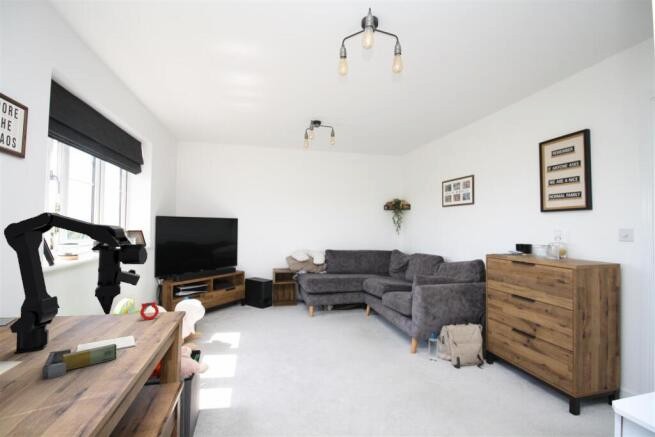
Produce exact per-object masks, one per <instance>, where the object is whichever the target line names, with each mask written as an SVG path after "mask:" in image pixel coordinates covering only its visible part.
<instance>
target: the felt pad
mask: <svg viewBox="0 0 655 437" xmlns="http://www.w3.org/2000/svg"><path fill="white" fill-rule="evenodd" d="M111 344H116V345H117V348H116V351H118V350H123V349H127V348H132V347H136V341H135V336H134V335H128V336H123V337H116V338H111V339H105V340H100V341H93V342H88V343H81V344H78V345H77V348H76V351H75V352H78V351H83V350H87V349H92V348H97V347H102V346H106V345H111Z"/></svg>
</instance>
